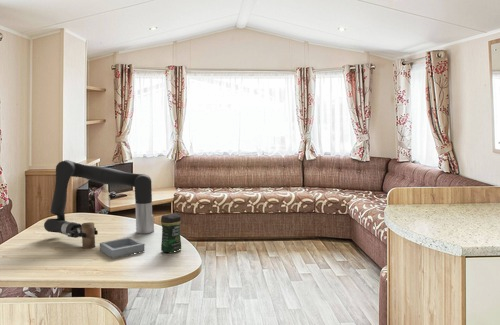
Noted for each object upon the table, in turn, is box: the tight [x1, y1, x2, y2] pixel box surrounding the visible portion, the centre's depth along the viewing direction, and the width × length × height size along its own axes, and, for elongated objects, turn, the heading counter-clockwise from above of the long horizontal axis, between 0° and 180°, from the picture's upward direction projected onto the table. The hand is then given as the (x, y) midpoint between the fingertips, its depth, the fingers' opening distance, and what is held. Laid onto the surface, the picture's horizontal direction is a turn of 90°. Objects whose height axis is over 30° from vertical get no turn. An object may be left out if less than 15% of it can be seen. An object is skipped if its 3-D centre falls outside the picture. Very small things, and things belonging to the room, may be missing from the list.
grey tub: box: [99, 236, 146, 260], centre depth 207 cm, size 16×16×4 cm
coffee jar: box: [160, 212, 182, 253], centre depth 207 cm, size 10×8×19 cm
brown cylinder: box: [81, 221, 96, 250], centre depth 214 cm, size 6×6×12 cm
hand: (91, 234), depth 212 cm, fingers closed on brown cylinder, 6 cm apart
